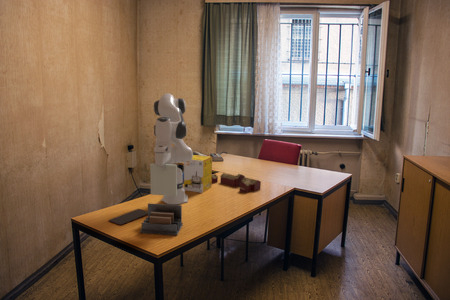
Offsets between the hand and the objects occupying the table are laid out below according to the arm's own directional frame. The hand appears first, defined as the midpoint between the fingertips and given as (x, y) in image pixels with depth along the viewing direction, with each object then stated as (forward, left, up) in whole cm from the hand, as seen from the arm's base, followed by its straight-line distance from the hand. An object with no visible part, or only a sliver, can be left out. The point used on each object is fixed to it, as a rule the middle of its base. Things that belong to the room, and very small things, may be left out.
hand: (163, 170), depth 208 cm
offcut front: (+8, 0, -32) cm, 33 cm away
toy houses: (-90, +33, -34) cm, 102 cm away
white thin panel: (0, 0, -15) cm, 15 cm away
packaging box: (-77, +7, -34) cm, 84 cm away
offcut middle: (+4, 0, -32) cm, 32 cm away
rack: (+4, 0, -34) cm, 34 cm away
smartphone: (-10, -24, -35) cm, 43 cm away
